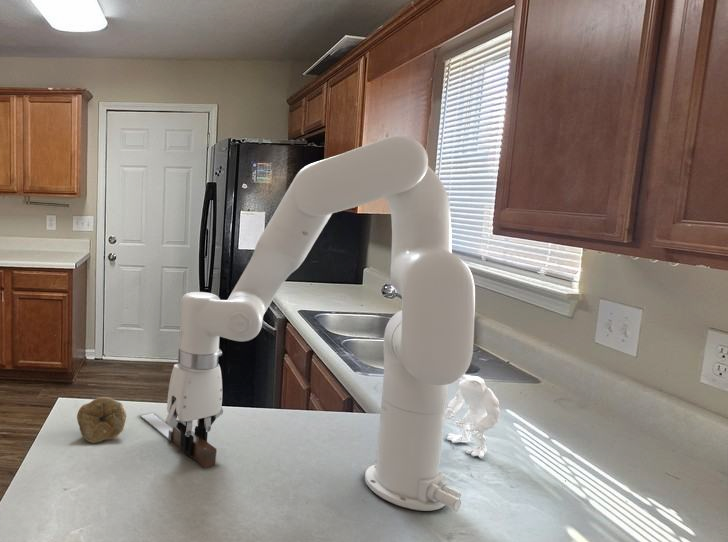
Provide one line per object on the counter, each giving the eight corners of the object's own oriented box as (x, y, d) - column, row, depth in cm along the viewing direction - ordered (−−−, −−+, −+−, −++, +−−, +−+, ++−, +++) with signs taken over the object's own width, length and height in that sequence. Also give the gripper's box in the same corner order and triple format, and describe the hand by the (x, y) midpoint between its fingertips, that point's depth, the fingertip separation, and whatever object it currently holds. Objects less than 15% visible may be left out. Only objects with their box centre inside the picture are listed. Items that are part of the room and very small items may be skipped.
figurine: (505, 461, 96) (513, 387, 95) (473, 462, 95) (482, 387, 94) (463, 434, 107) (470, 367, 105) (434, 435, 106) (441, 367, 105)
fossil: (71, 405, 101) (117, 389, 105) (71, 414, 104) (114, 398, 108) (86, 447, 96) (133, 429, 100) (85, 455, 99) (131, 436, 103)
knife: (217, 464, 92) (218, 448, 91) (203, 468, 90) (204, 452, 90) (152, 414, 112) (153, 400, 111) (140, 416, 110) (140, 403, 110)
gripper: (219, 347, 101) (214, 434, 103) (151, 357, 93) (147, 451, 95) (244, 358, 94) (238, 451, 96) (173, 370, 86) (168, 471, 88)
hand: (193, 450), depth 95 cm, fingers closed on knife, 2 cm apart
